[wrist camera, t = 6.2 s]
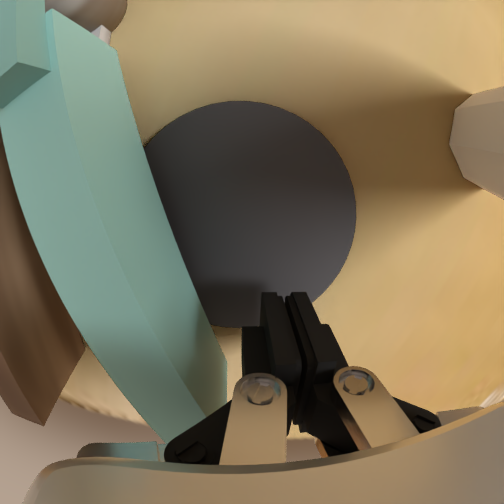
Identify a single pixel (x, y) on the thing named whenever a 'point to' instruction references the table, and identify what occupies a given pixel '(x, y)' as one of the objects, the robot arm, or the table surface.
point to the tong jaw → (103, 217)
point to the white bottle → (481, 140)
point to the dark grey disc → (252, 205)
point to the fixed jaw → (38, 275)
